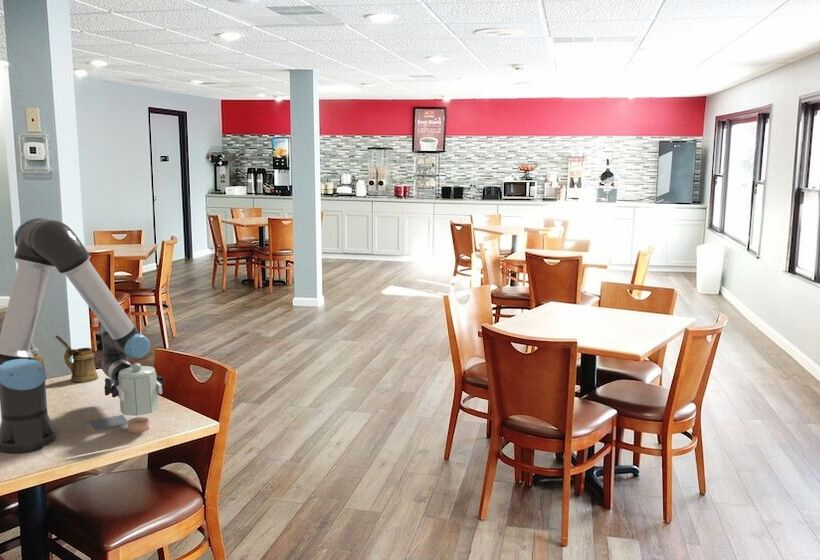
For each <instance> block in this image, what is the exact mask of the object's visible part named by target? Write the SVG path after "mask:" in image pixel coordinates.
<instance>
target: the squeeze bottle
mask: <svg viewBox="0 0 820 560" xmlns="http://www.w3.org/2000/svg"><path fill="white" fill-rule="evenodd" d="M34 343H35V342H34V340H33V339H32V342H31V346H30V351H31V353H32V354H33V356H34V357H33V360H36V361H38V362H40V363H41V364H42V365H43V367H44V372H45V382H46V381H47V374H46V369H45V363H44V358H43V355H42V354H40V349H39V348H37V347H36V346H35V344H34Z"/></svg>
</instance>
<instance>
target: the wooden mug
mask: <svg viewBox="0 0 820 560" xmlns="http://www.w3.org/2000/svg"><path fill="white" fill-rule="evenodd" d="M55 338H56V340H57V341H58V342H60V343H61V344H62V345H63V347H64V348H65V353H64V355H63V356H64V357H63V360H64V363H65V364H66V366H67V367H68V368H69V370H70V371H71V377H70V380H71V381H72V382H74V383H87V382H93V381H96V380H97V379H99V375H98V372H97V370H96V365H95V360H94V357H95V354H94V352H93V348H91V347H81V348H77V349H75V348H71V347H70V346H69V344H67V342H66V341H64V340H63V338H62V337H60V336H59V335H55ZM71 358H72V360H73V361H72V362H71V361H70V359H71Z"/></svg>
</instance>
